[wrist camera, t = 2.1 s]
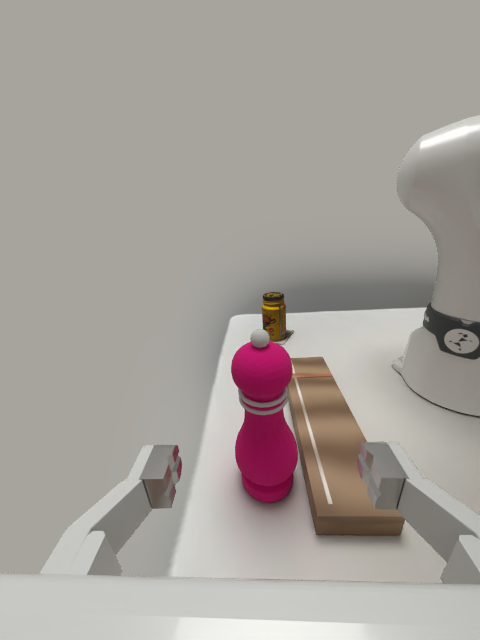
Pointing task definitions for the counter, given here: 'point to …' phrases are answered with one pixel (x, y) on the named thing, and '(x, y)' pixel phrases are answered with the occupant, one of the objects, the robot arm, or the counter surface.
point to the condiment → (275, 317)
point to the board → (332, 455)
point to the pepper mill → (264, 418)
